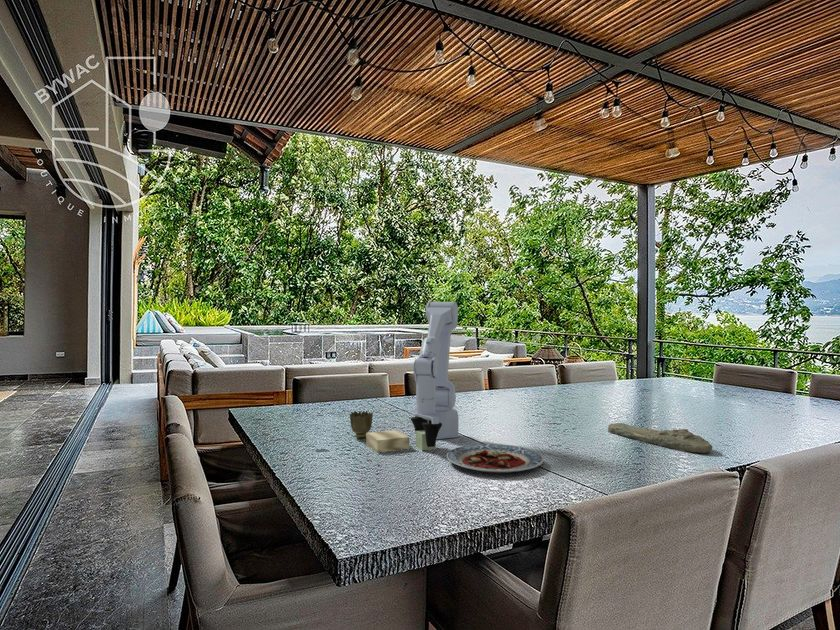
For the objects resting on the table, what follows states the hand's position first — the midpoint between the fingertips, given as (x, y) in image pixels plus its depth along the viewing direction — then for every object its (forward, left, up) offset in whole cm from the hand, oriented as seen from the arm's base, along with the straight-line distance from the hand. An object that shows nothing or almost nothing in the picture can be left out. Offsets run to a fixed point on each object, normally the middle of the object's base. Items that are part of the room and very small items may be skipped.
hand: (425, 443), depth 157 cm
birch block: (+10, -6, -2) cm, 12 cm away
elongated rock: (-70, +20, -2) cm, 73 cm away
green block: (0, 0, -2) cm, 2 cm away
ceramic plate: (-11, +21, -2) cm, 24 cm away
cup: (+14, -20, -2) cm, 24 cm away
